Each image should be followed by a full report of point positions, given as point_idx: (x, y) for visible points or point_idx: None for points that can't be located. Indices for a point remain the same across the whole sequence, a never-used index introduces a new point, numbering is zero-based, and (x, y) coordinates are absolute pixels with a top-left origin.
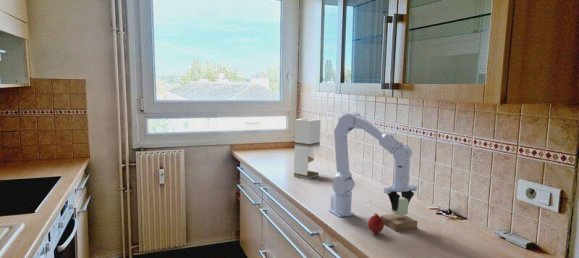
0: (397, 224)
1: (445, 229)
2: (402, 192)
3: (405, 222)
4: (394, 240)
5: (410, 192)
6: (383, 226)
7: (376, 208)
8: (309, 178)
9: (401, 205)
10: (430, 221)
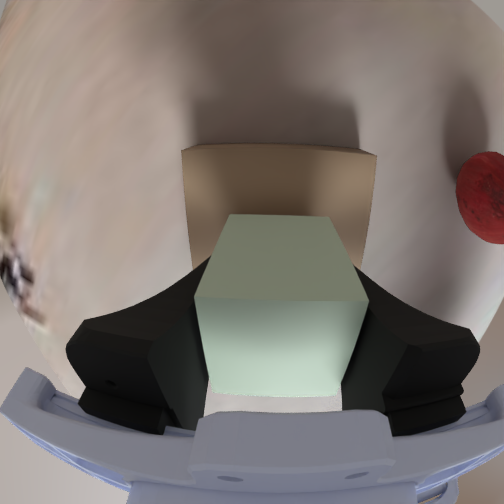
0: (371, 154)
1: (69, 104)
2: (196, 426)
3: (293, 155)
4: (441, 72)
5: (113, 381)
6: (481, 156)
7: (227, 397)
8: None
9: (314, 259)
10: (74, 216)
